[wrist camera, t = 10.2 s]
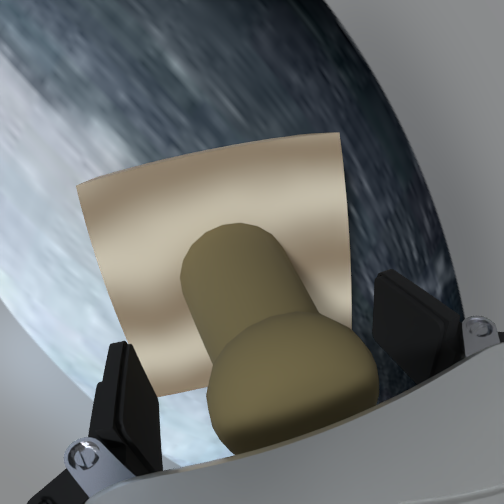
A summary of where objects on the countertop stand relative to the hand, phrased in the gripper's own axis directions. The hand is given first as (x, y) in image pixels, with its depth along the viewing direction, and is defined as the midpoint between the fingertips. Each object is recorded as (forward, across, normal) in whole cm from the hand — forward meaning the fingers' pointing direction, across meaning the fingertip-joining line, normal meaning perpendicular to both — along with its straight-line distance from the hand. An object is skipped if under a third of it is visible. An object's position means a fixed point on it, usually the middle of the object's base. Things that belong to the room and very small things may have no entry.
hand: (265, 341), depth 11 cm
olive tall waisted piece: (+7, 0, 0) cm, 7 cm away
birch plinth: (+11, 0, +1) cm, 11 cm away
